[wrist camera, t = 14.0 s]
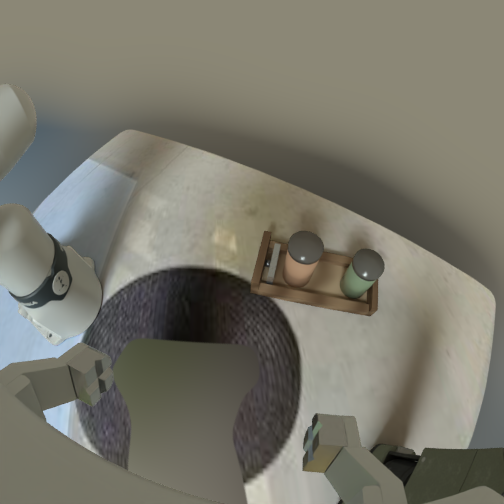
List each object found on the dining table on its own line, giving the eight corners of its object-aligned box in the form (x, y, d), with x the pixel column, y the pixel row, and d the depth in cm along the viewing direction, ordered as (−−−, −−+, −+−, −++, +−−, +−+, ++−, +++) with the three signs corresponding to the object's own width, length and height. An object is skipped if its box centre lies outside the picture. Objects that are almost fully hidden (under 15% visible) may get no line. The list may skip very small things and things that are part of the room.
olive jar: (337, 296, 45) (353, 274, 38) (340, 270, 47) (354, 245, 41) (365, 301, 44) (384, 281, 37) (366, 275, 47) (383, 252, 40)
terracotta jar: (279, 284, 46) (285, 256, 38) (284, 258, 49) (291, 227, 41) (309, 290, 45) (322, 264, 38) (312, 264, 48) (325, 234, 40)
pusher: (260, 283, 46) (261, 275, 43) (268, 252, 49) (269, 242, 46) (271, 286, 46) (273, 277, 43) (278, 254, 49) (280, 244, 46)
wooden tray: (250, 292, 45) (251, 282, 42) (263, 243, 50) (264, 230, 47) (370, 316, 43) (380, 307, 40) (371, 266, 48) (379, 255, 45)
